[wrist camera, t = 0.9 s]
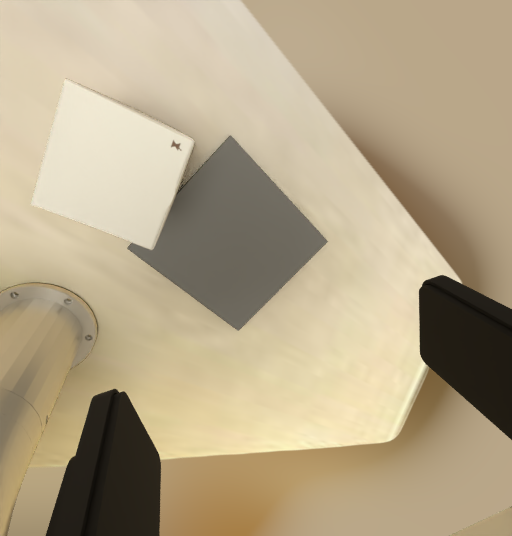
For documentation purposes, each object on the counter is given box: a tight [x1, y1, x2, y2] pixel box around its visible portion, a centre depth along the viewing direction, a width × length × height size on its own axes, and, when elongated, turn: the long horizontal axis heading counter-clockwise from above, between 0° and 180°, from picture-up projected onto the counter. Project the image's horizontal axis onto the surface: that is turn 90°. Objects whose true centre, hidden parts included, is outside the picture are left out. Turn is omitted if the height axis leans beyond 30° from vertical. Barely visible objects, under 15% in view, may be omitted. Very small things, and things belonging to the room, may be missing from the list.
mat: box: [127, 136, 328, 331], centre depth 42 cm, size 18×19×1 cm
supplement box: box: [31, 78, 195, 250], centre depth 29 cm, size 9×9×15 cm
